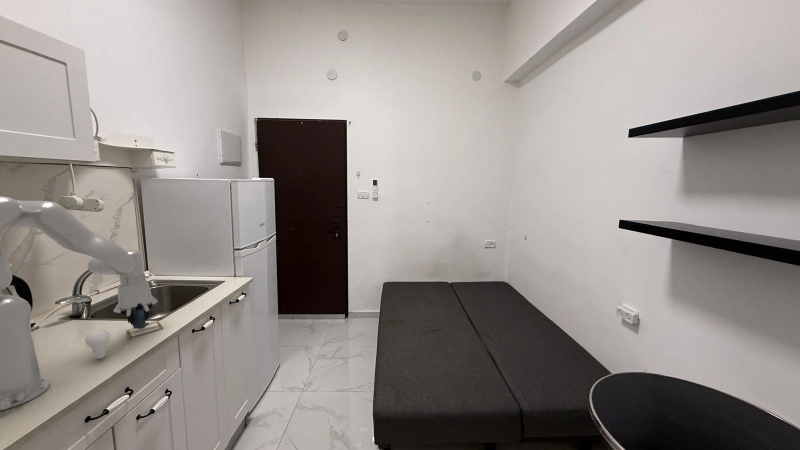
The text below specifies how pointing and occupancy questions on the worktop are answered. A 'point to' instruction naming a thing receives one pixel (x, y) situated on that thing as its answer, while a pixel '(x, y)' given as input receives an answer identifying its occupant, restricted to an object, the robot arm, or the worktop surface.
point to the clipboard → (144, 330)
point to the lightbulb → (98, 342)
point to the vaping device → (138, 317)
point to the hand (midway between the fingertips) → (138, 321)
